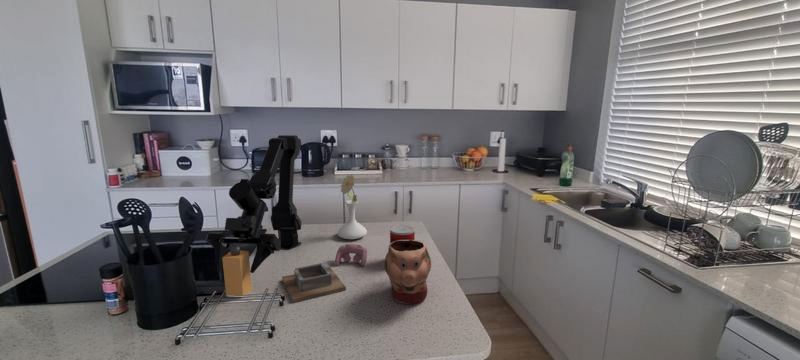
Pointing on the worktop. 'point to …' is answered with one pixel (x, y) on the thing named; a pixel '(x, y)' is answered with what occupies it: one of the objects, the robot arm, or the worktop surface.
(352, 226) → the flower in vase
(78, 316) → the worktop surface
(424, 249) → the decorative planter
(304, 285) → the holder
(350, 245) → the video game controller
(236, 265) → the plug
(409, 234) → the canned food
